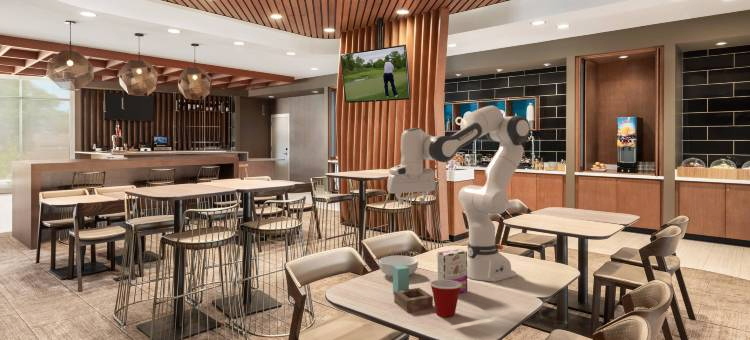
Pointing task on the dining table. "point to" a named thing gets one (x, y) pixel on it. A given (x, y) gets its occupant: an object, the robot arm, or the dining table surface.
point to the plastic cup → (445, 296)
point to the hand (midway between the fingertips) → (411, 203)
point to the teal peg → (400, 278)
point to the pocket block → (413, 299)
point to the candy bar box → (453, 267)
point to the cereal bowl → (390, 261)
